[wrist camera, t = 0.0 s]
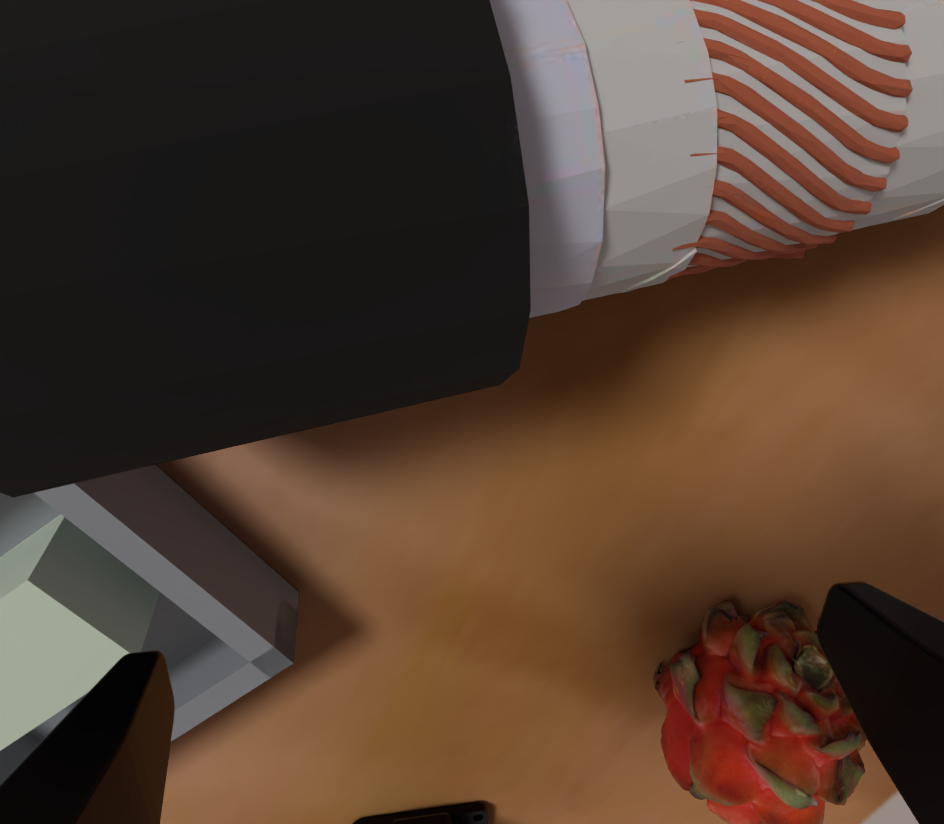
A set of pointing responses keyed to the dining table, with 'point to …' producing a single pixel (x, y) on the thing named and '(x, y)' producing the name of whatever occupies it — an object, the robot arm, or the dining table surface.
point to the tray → (129, 602)
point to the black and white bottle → (402, 192)
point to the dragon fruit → (759, 719)
